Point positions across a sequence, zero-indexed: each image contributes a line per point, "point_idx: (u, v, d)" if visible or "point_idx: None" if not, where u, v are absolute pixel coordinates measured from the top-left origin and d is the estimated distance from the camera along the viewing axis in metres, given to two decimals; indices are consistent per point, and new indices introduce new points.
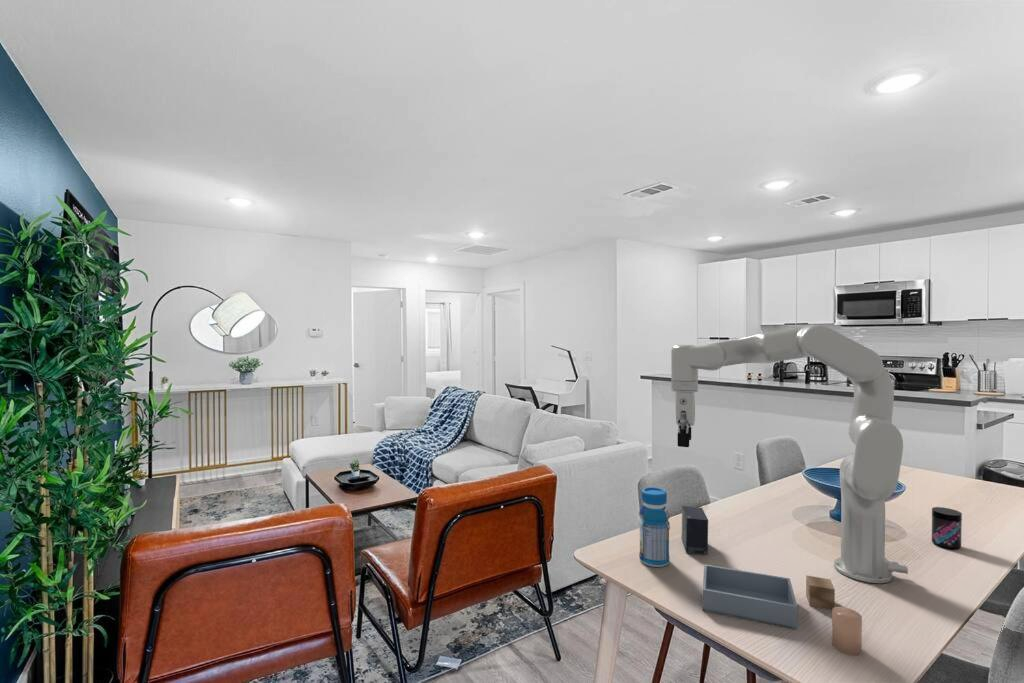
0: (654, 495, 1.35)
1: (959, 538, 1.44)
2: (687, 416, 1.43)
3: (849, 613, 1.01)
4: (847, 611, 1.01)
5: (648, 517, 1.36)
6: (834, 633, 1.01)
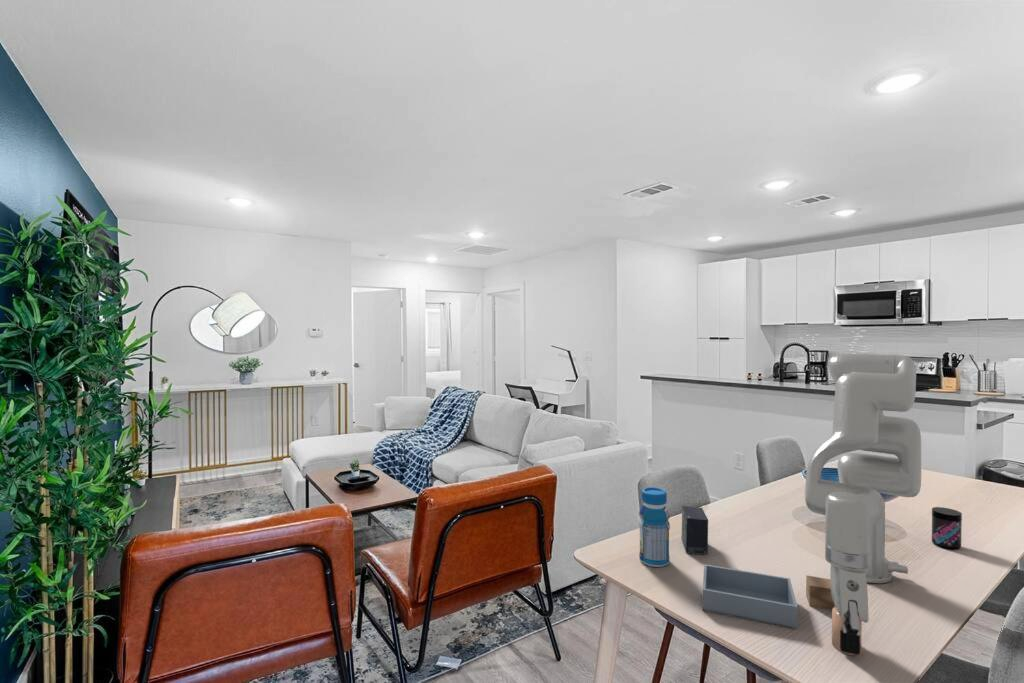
0: (654, 495, 1.35)
1: (959, 538, 1.44)
2: (860, 609, 0.95)
3: None
4: None
5: (648, 517, 1.36)
6: (834, 633, 1.01)
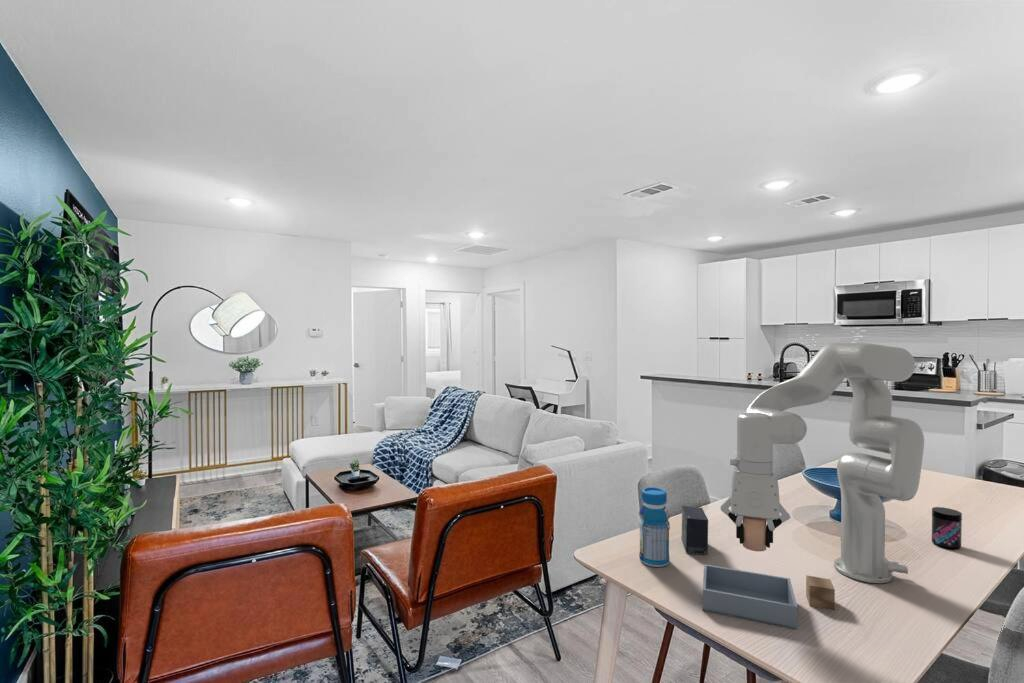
0: (654, 495, 1.35)
1: (959, 538, 1.44)
2: (730, 500, 1.16)
3: (755, 518, 1.15)
4: None
5: (648, 517, 1.36)
6: None
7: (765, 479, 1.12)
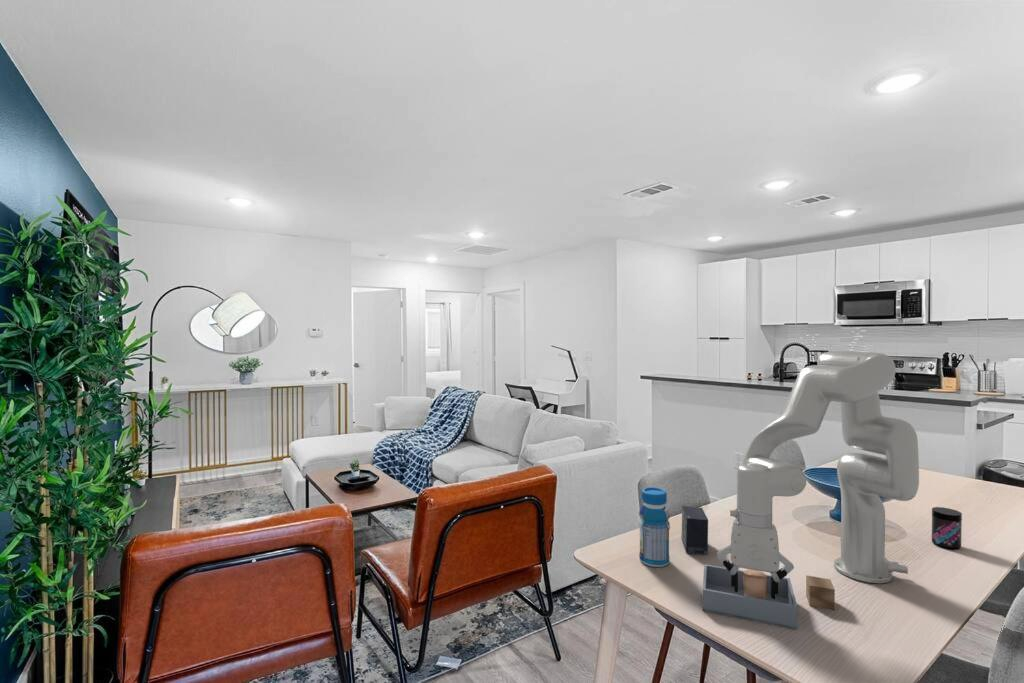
0: (654, 495, 1.35)
1: (959, 538, 1.44)
2: (730, 551, 1.17)
3: (756, 575, 1.15)
4: (759, 575, 1.15)
5: (648, 517, 1.36)
6: None
7: (765, 532, 1.12)
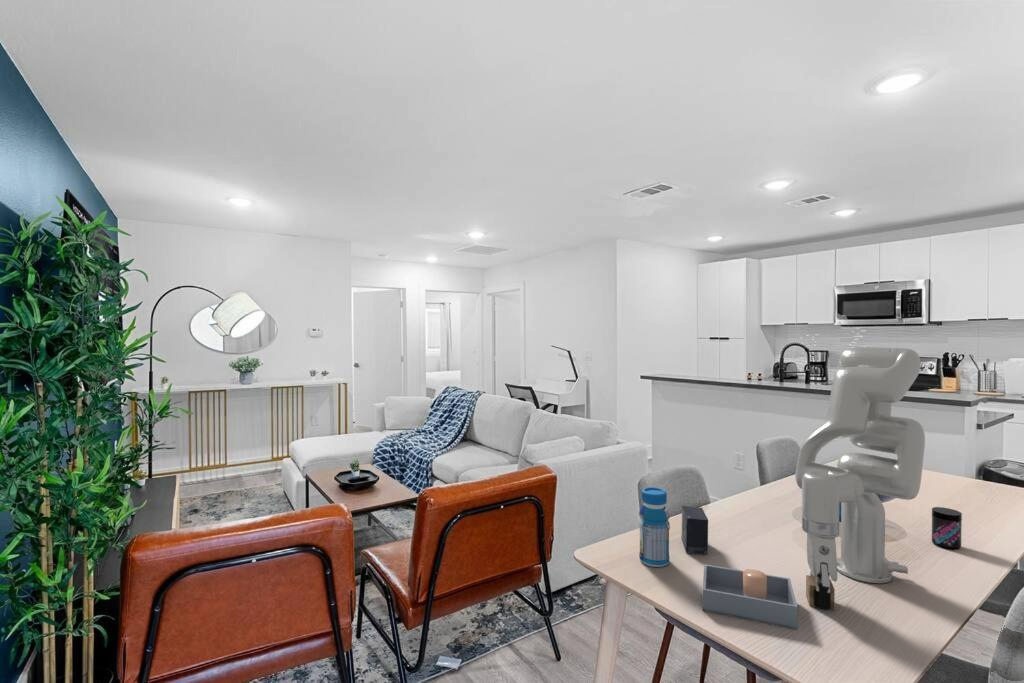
0: (654, 495, 1.35)
1: (959, 538, 1.44)
2: (830, 570, 1.12)
3: (755, 576, 1.15)
4: (758, 575, 1.15)
5: (648, 517, 1.36)
6: None
7: None
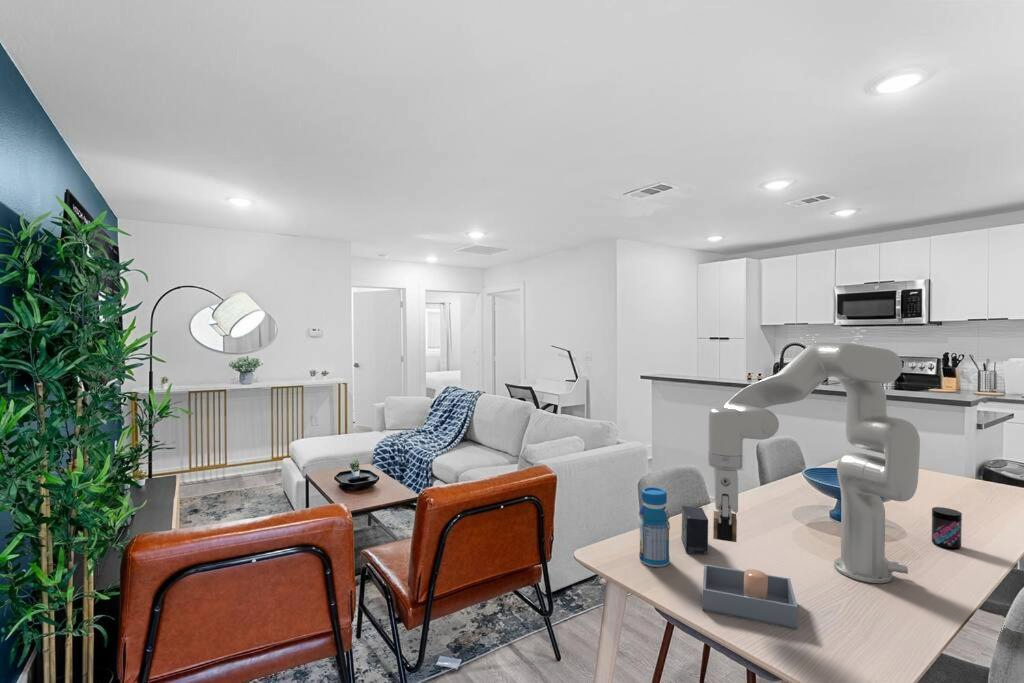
0: (654, 495, 1.35)
1: (959, 538, 1.44)
2: (731, 501, 1.13)
3: (756, 575, 1.15)
4: (759, 576, 1.15)
5: (648, 517, 1.36)
6: None
7: None
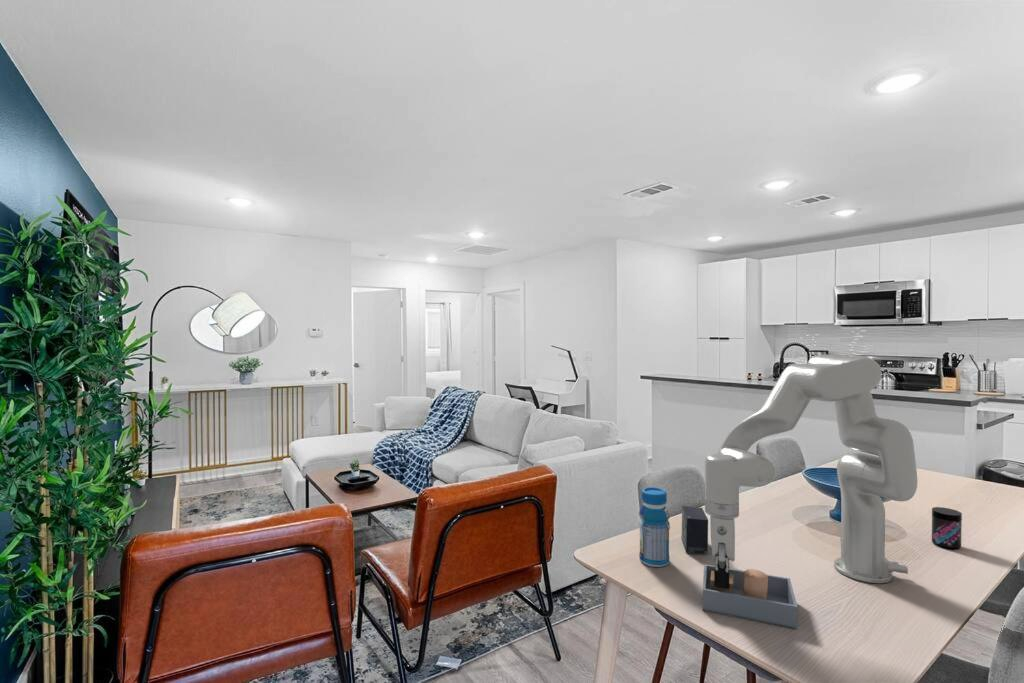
0: (654, 495, 1.35)
1: (959, 538, 1.44)
2: (727, 550, 1.13)
3: (756, 575, 1.15)
4: (759, 576, 1.15)
5: (648, 517, 1.36)
6: None
7: None
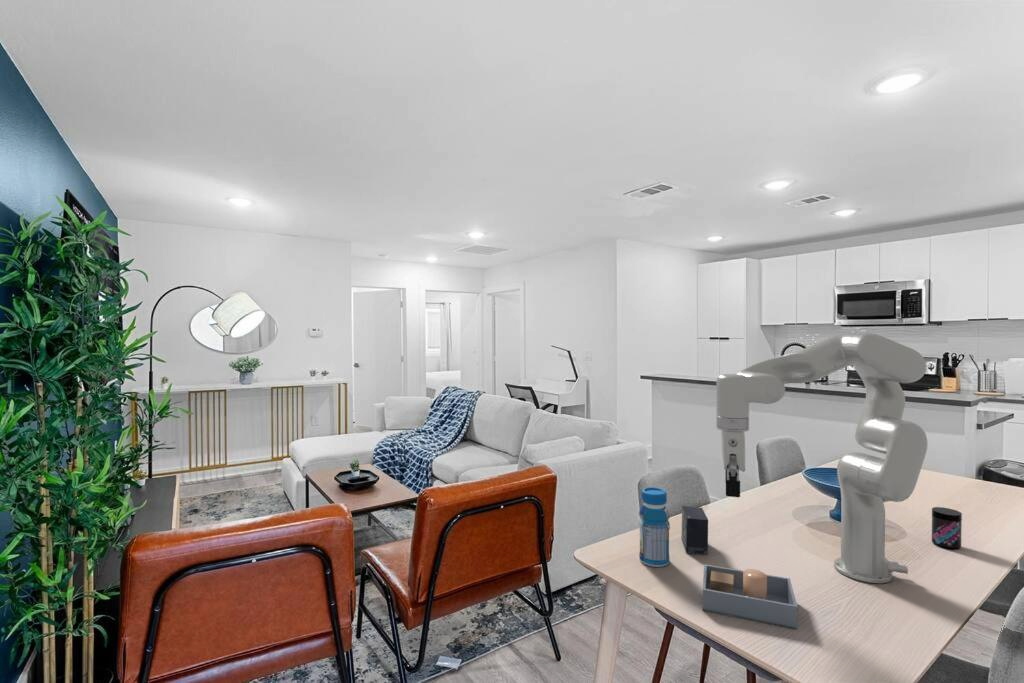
0: (654, 495, 1.35)
1: (959, 538, 1.44)
2: (738, 460, 1.20)
3: (755, 576, 1.15)
4: (758, 576, 1.15)
5: (648, 517, 1.36)
6: None
7: None
